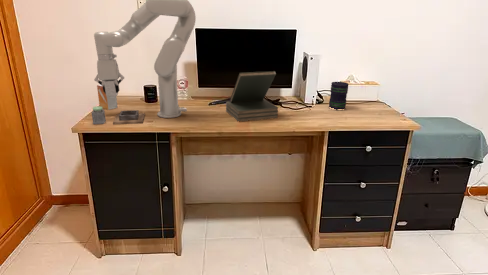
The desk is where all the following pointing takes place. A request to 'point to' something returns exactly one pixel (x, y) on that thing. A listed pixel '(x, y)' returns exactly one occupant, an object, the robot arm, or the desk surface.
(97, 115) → the button post
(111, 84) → the block
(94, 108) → the button
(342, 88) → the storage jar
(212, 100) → the desk surface
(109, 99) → the small box
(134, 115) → the square base with tray
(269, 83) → the tilted panel stand
